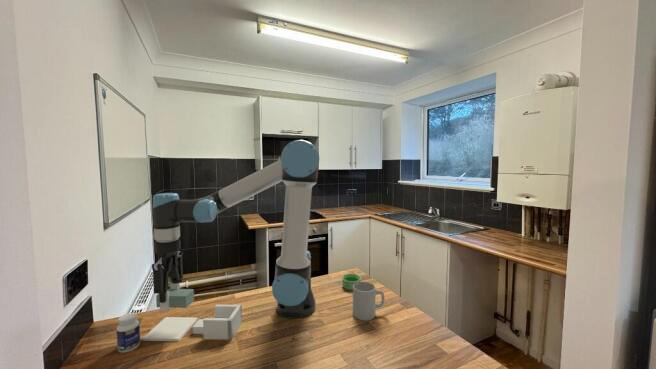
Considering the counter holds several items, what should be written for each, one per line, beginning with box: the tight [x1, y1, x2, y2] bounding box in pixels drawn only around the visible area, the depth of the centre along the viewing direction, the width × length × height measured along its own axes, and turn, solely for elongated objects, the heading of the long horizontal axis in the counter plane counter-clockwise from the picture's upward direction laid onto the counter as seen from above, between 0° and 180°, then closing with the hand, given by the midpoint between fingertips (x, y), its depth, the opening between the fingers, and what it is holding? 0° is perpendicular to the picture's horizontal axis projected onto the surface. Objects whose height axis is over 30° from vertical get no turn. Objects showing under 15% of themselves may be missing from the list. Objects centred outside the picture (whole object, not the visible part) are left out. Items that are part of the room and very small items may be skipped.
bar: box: [155, 288, 195, 309], centre depth 91 cm, size 10×5×4 cm, turn 89°
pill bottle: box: [116, 312, 141, 354], centre depth 83 cm, size 6×6×10 cm
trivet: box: [142, 316, 199, 342], centre depth 92 cm, size 12×12×1 cm
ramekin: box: [341, 273, 362, 291], centre depth 125 cm, size 9×9×4 cm
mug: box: [352, 281, 385, 322], centre depth 101 cm, size 12×8×11 cm
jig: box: [192, 304, 243, 341], centre depth 92 cm, size 14×10×6 cm
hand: (170, 305), depth 92 cm, fingers closed on bar, 5 cm apart
